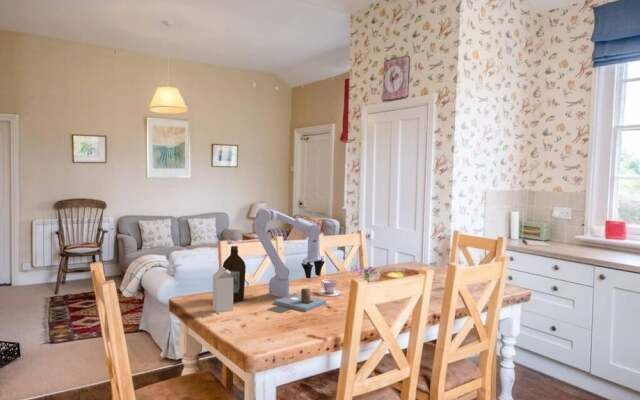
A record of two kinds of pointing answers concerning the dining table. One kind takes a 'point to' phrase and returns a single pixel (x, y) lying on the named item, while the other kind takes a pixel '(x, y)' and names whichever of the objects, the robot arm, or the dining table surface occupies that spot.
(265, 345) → the dining table surface
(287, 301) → the hole plate
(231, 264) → the olive oil
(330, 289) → the teacup
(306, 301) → the walnut peg
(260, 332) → the dining table surface
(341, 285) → the dining table surface
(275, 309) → the pad
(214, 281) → the milk carton
